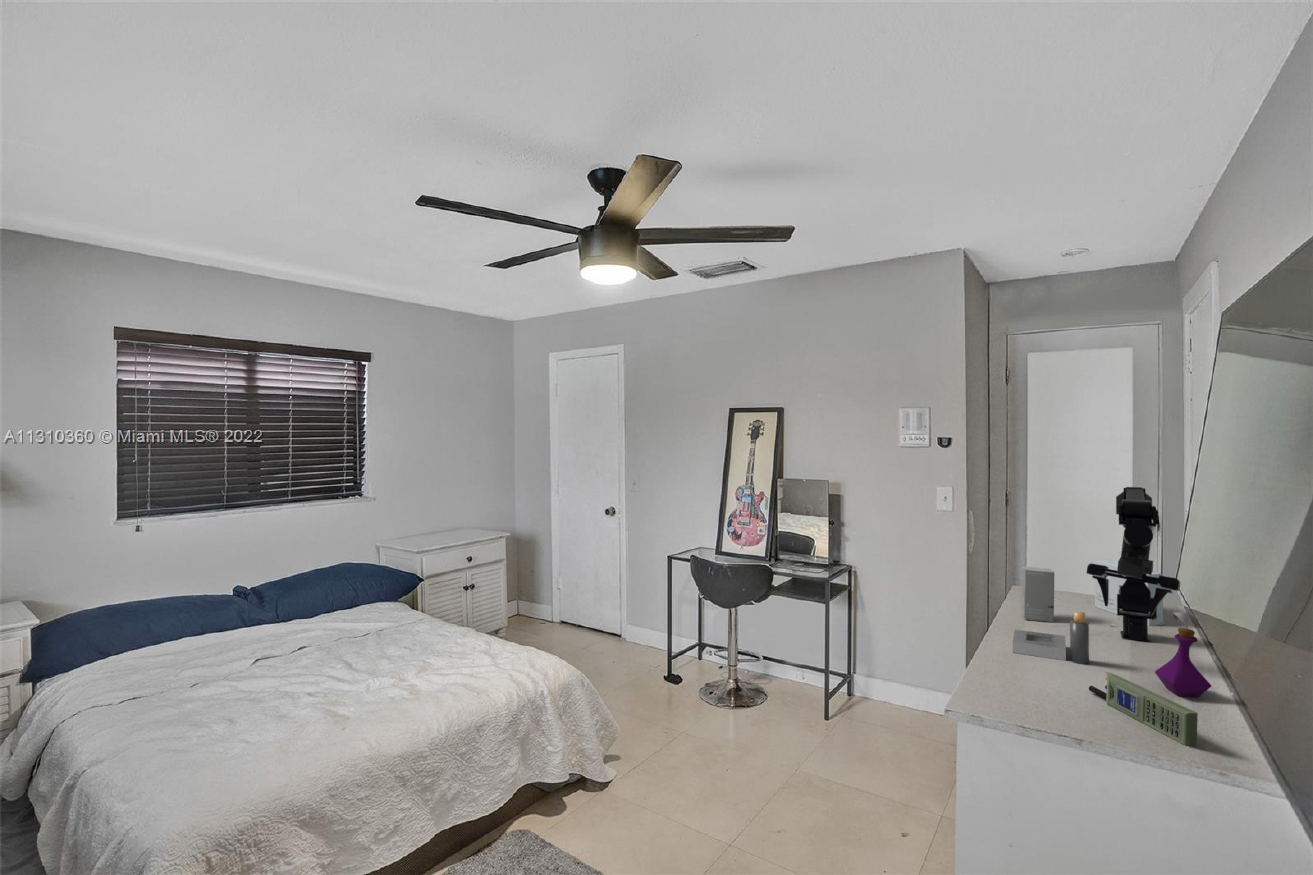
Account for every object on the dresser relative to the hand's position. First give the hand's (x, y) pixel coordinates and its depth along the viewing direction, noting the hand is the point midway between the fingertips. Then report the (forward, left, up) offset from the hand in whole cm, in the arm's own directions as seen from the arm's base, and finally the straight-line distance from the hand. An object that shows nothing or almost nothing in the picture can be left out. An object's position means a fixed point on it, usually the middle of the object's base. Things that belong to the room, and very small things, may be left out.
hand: (1128, 610), depth 162 cm
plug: (+3, -10, -14) cm, 17 cm away
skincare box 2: (-52, +4, -14) cm, 54 cm away
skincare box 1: (-35, -20, -14) cm, 42 cm away
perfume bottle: (+15, +9, -14) cm, 22 cm away
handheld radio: (+35, -1, -14) cm, 38 cm away
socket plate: (-2, -19, -14) cm, 24 cm away
